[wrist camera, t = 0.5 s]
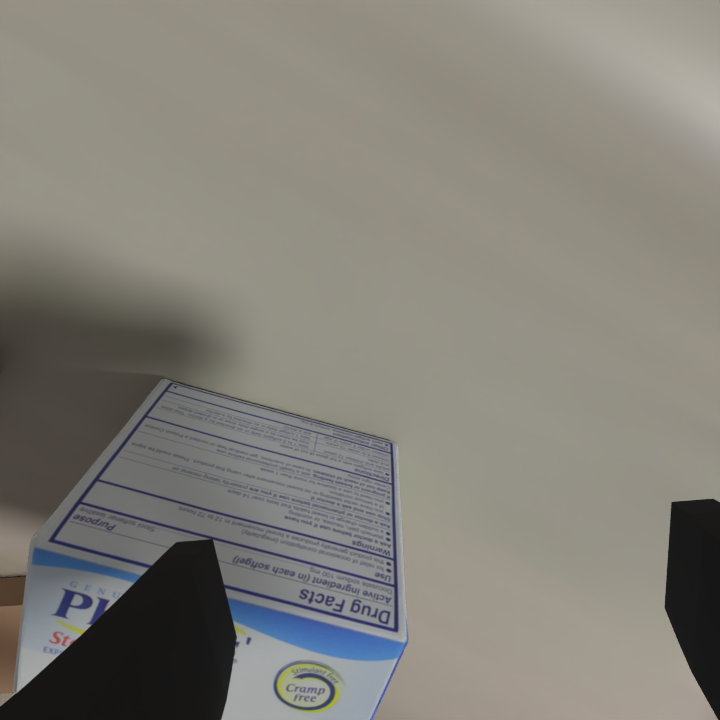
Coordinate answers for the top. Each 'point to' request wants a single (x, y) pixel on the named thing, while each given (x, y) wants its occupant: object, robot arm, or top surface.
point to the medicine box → (239, 548)
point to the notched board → (9, 628)
